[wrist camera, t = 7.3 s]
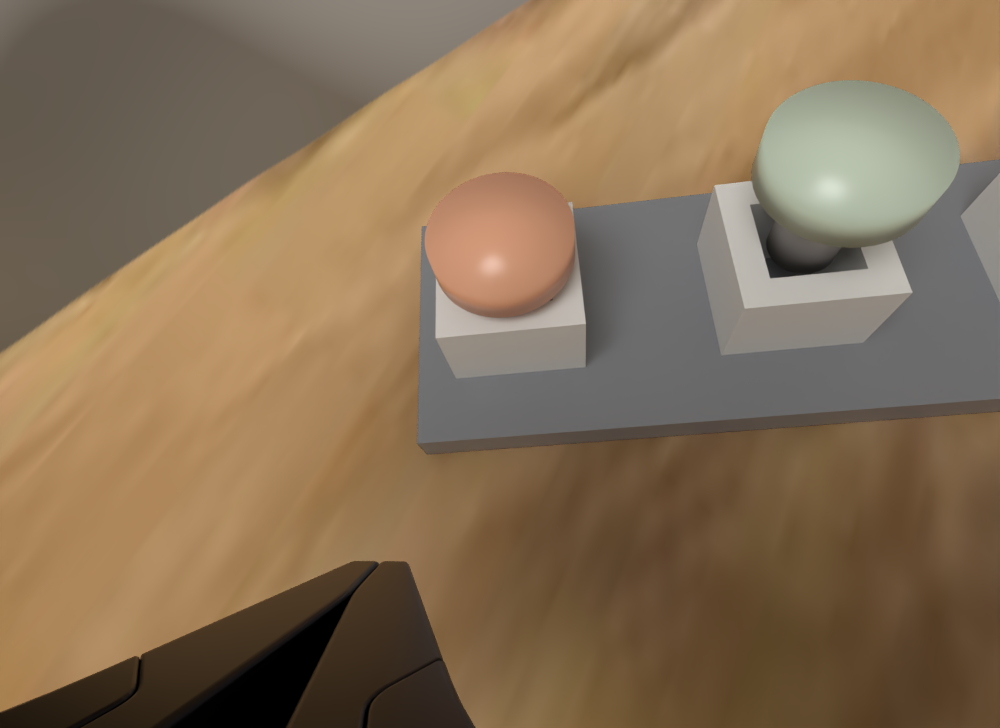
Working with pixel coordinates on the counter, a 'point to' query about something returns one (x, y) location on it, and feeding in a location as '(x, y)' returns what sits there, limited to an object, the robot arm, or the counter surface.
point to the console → (723, 329)
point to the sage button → (849, 169)
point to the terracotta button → (501, 244)
